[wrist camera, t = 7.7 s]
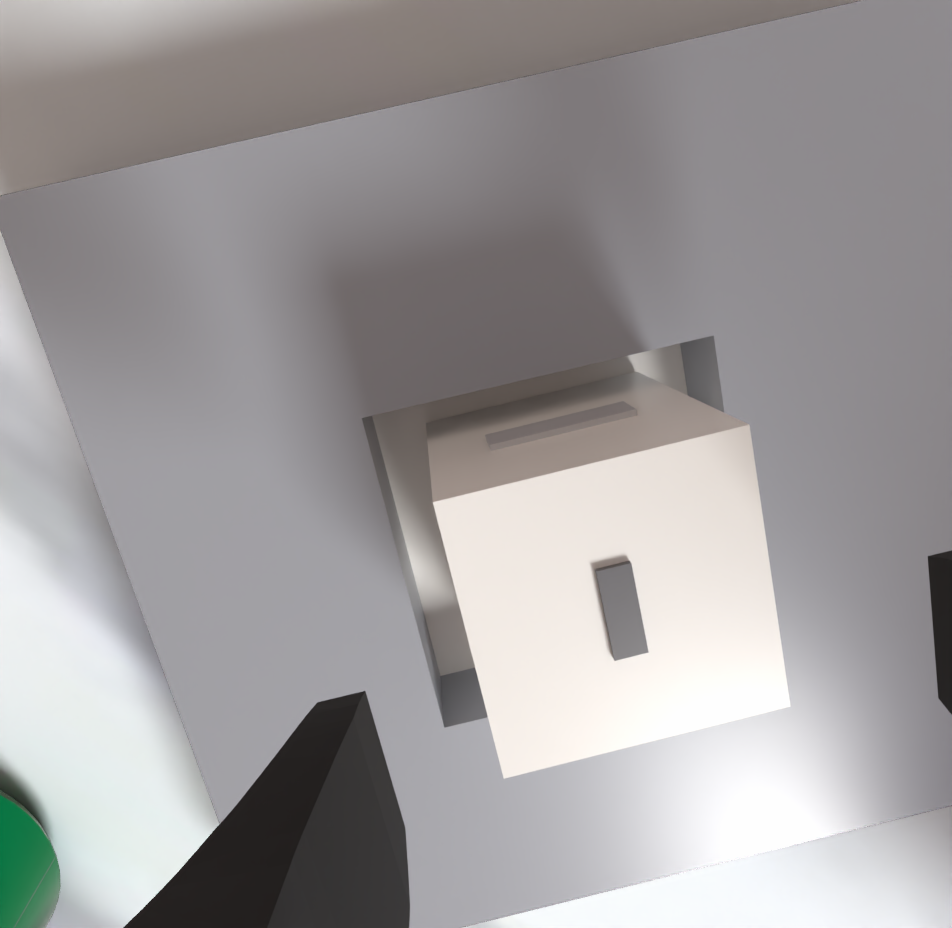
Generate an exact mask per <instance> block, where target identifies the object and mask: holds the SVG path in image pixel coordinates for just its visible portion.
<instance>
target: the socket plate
mask: <svg viewBox="0 0 952 928" xmlns="http://www.w3.org/2000/svg"><path fill="white" fill-rule="evenodd" d="M0 230H1V233H2V236H3V238H4V241H5V244H6V246H7V249H8V252H9V255H10V257H11V260H12V263H13V265H14V268H15V271H16V274H17V276H18V279H19V282H20V284H21V287H22V290H23V292H24V295H25V298H26V301H27V303H28V306H29V309H30V311H31V314H32V317H33V320H34V322H35V325H36V328H37V330H38V333H39V336H40V338H41V341H42V344H43V347H44V349H45V352H46V355H47V357H48V360H49V363H50V366H51V368H52V371H53V374H54V376H55V379H56V382H57V385H58V387H59V390H60V393H61V395H62V398H63V401H64V403H65V406H66V409H67V412H68V414H69V417H70V420H71V422H72V425H73V428H74V431H75V433H76V436H77V439H78V441H79V444H80V447H81V449H82V452H83V455H84V458H85V460H86V463H87V466H88V468H89V471H90V474H91V477H92V479H93V482H94V485H95V487H96V490H97V493H98V496H99V498H100V501H101V504H102V506H103V509H104V512H105V514H106V517H107V520H108V523H109V525H110V528H111V531H112V533H113V536H114V539H115V542H116V544H117V547H118V550H119V552H120V555H121V558H122V560H123V563H124V566H125V569H126V571H127V574H128V577H129V579H130V582H131V585H132V588H133V590H134V593H135V596H136V598H137V601H138V604H139V607H140V609H141V612H142V615H143V617H144V620H145V623H146V625H147V628H148V631H149V634H150V636H151V639H152V642H153V644H154V647H155V650H156V653H157V655H158V658H159V661H160V663H161V666H162V669H163V671H164V674H165V677H166V680H167V682H168V685H169V688H170V690H171V693H172V696H173V699H174V701H175V704H176V707H177V709H178V712H179V715H180V718H181V720H182V723H183V726H184V728H185V731H186V734H187V736H188V739H189V742H190V745H191V747H192V750H193V753H194V755H195V758H196V761H197V764H198V766H199V769H200V772H201V774H202V777H203V780H204V783H205V785H206V788H207V791H208V793H209V796H210V799H211V801H212V804H213V807H214V810H215V812H216V815H217V818H218V820H219V823H221V822H222V821H223V820H224V819H225V818H226V817H227V815H228V814H229V813H230V812H231V811H232V810H233V808H234V807H235V806H236V805H237V804H238V802H239V801H240V800H241V799H242V797H243V796H244V795H245V794H246V792H247V791H248V790H249V788H250V787H251V786H252V785H253V783H254V782H255V781H256V780H257V778H258V777H259V776H260V775H261V773H262V772H263V771H264V769H265V768H266V767H267V766H268V764H269V763H270V762H271V761H272V759H273V758H274V757H275V755H276V754H277V753H278V751H279V750H280V749H281V748H282V746H283V745H284V744H285V742H286V741H287V740H288V738H289V737H290V736H291V734H292V733H293V732H294V731H295V729H296V728H297V727H298V725H299V724H300V723H301V721H302V720H303V719H304V718H305V716H306V715H307V714H308V713H309V711H310V710H311V709H312V708H313V707H314V706H315V705H316V703H317V702H321V701H325V700H329V699H333V698H337V697H342V696H346V695H350V694H354V693H358V692H363V691H366V695H367V698H368V702H369V705H370V708H371V712H372V715H373V719H374V722H375V726H376V729H377V732H378V736H379V739H380V743H381V746H382V749H383V753H384V756H385V760H386V763H387V767H388V770H389V773H390V777H391V780H392V784H393V787H394V791H395V794H396V797H397V801H398V804H399V808H400V811H401V814H402V818H403V821H404V825H405V830H406V845H407V859H408V875H409V894H410V921H409V928H462V927H466V926H471V925H475V924H479V923H483V922H487V921H491V920H495V919H499V918H503V917H507V916H511V915H515V914H519V913H523V912H527V911H531V910H535V909H539V908H543V907H547V906H551V905H555V904H559V903H563V902H567V901H571V900H575V899H579V898H583V897H587V896H591V895H595V894H599V893H603V892H607V891H611V890H615V889H619V888H623V887H627V886H631V885H635V884H639V883H643V882H647V881H651V880H655V879H659V878H663V877H667V876H671V875H675V874H680V873H684V872H688V871H692V870H696V869H700V868H704V867H708V866H712V865H716V864H720V863H724V862H728V861H732V860H736V859H740V858H744V857H748V856H752V855H756V854H760V853H764V852H768V851H772V850H776V849H780V848H784V847H788V846H792V845H796V844H800V843H804V842H808V841H812V840H816V839H820V838H824V837H828V836H832V835H836V834H840V833H844V832H848V831H852V830H856V829H860V828H864V827H868V826H872V825H876V824H880V823H884V822H889V821H893V820H897V819H901V818H905V817H909V816H913V815H917V814H921V813H925V812H929V811H933V810H937V809H941V808H945V807H949V806H952V714H951V713H950V712H949V711H948V710H947V708H946V707H945V706H944V705H943V703H942V702H941V701H940V700H939V699H938V688H937V675H936V661H935V648H934V635H933V622H932V608H931V595H930V582H929V568H928V556H930V555H934V554H939V553H943V552H947V551H951V550H952V0H861V1H857V2H853V3H848V4H844V5H839V6H835V7H831V8H826V9H822V10H817V11H813V12H808V13H804V14H800V15H795V16H791V17H786V18H782V19H778V20H773V21H769V22H764V23H760V24H755V25H751V26H747V27H742V28H738V29H733V30H729V31H725V32H720V33H716V34H711V35H707V36H703V37H698V38H694V39H689V40H685V41H680V42H676V43H672V44H667V45H663V46H658V47H654V48H650V49H645V50H641V51H636V52H632V53H628V54H623V55H619V56H614V57H610V58H605V59H601V60H597V61H592V62H588V63H583V64H579V65H575V66H570V67H566V68H561V69H557V70H553V71H548V72H544V73H539V74H535V75H530V76H526V77H522V78H517V79H513V80H508V81H504V82H500V83H495V84H491V85H486V86H482V87H478V88H473V89H469V90H464V91H460V92H455V93H451V94H447V95H442V96H438V97H433V98H429V99H425V100H420V101H416V102H411V103H407V104H403V105H398V106H394V107H389V108H385V109H380V110H376V111H372V112H367V113H363V114H358V115H354V116H350V117H345V118H341V119H336V120H332V121H328V122H323V123H319V124H314V125H310V126H305V127H301V128H297V129H292V130H288V131H283V132H279V133H275V134H270V135H266V136H261V137H257V138H252V139H248V140H244V141H239V142H235V143H230V144H226V145H222V146H217V147H213V148H208V149H204V150H200V151H195V152H191V153H186V154H182V155H177V156H173V157H169V158H164V159H160V160H155V161H151V162H147V163H142V164H138V165H133V166H129V167H125V168H120V169H116V170H111V171H107V172H102V173H98V174H94V175H89V176H85V177H80V178H76V179H72V180H67V181H63V182H58V183H54V184H50V185H45V186H41V187H36V188H32V189H27V190H23V191H19V192H14V193H10V194H5V195H1V196H0ZM633 372H639V373H641V374H643V375H645V376H647V377H649V378H652V379H654V380H656V381H658V382H660V383H662V384H664V385H666V386H669V387H671V388H673V389H675V390H677V391H679V392H681V393H683V394H686V395H688V396H690V397H692V398H694V399H696V400H698V401H700V402H702V403H705V404H707V405H709V406H711V407H713V408H715V409H717V410H719V411H722V412H724V413H726V414H728V415H730V416H732V417H734V418H736V419H739V420H741V421H743V422H745V423H747V424H749V425H750V432H751V438H752V445H753V452H754V459H755V466H756V473H757V480H758V486H759V493H760V500H761V507H762V514H763V521H764V528H765V534H766V541H767V548H768V555H769V562H770V569H771V576H772V582H773V589H774V596H775V603H776V610H777V617H778V624H779V630H780V637H781V644H782V651H783V658H784V665H785V672H786V678H787V685H788V692H789V699H790V706H791V707H787V708H783V709H779V710H775V711H771V712H767V713H763V714H759V715H755V716H751V717H747V718H743V719H739V720H735V721H731V722H727V723H723V724H719V725H715V726H711V727H707V728H703V729H699V730H695V731H691V732H687V733H683V734H680V735H676V736H672V737H668V738H664V739H660V740H656V741H652V742H648V743H644V744H640V745H636V746H632V747H628V748H624V749H620V750H616V751H612V752H608V753H604V754H600V755H596V756H592V757H588V758H584V759H580V760H576V761H572V762H568V763H565V764H561V765H557V766H553V767H549V768H545V769H541V770H537V771H533V772H529V773H525V774H521V775H517V776H513V777H509V778H505V779H504V778H503V774H502V770H501V766H500V762H499V758H498V754H497V751H496V747H495V743H494V739H493V735H492V731H491V727H490V723H489V719H488V716H487V712H486V708H485V704H484V700H483V696H482V692H481V688H480V684H479V681H478V677H477V673H476V669H475V665H474V661H473V657H472V653H471V649H470V646H469V642H468V638H467V634H466V630H465V626H464V622H463V618H462V614H461V610H460V607H459V603H458V599H457V595H456V591H455V587H454V583H453V579H452V575H451V572H450V568H449V564H448V560H447V556H446V552H445V548H444V544H443V540H442V537H441V533H440V529H439V525H438V521H437V517H436V513H435V509H434V505H433V500H432V489H431V477H430V466H429V454H428V443H427V431H426V423H427V422H431V421H435V420H439V419H443V418H447V417H452V416H456V415H460V414H464V413H468V412H472V411H476V410H480V409H484V408H489V407H493V406H497V405H501V404H505V403H509V402H513V401H517V400H521V399H526V398H530V397H534V396H538V395H542V394H546V393H550V392H554V391H559V390H563V389H567V388H571V387H575V386H579V385H583V384H587V383H591V382H596V381H600V380H604V379H608V378H612V377H616V376H620V375H624V374H628V373H633Z"/></svg>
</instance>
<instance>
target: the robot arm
mask: <svg viewBox="0 0 952 928" xmlns="http://www.w3.org/2000/svg"><path fill="white" fill-rule="evenodd" d="M928 568H929V582H930V595H931V608H932V622H933V635H934V648H935V661H936V675H937V688H938V699H939V700H940V701H941V702H942V703H943V705H944V706H945V707H946V708H947V710H948V711H949V712H950V713H951V714H952V550H951V551H947V552H943V553H939V554H934V555H930V556H928ZM409 921H410V894H409V875H408V859H407V845H406V830H405V825H404V821H403V818H402V814H401V811H400V808H399V804H398V801H397V797H396V794H395V791H394V787H393V784H392V780H391V777H390V773H389V770H388V767H387V763H386V760H385V756H384V753H383V749H382V746H381V743H380V739H379V736H378V732H377V729H376V726H375V722H374V719H373V715H372V712H371V708H370V705H369V702H368V698H367V695H366V691H363V692H358V693H354V694H350V695H346V696H342V697H337V698H333V699H329V700H325V701H321V702H317V703H316V705H315V706H314V707H313V708H312V709H311V710H310V711H309V713H308V714H307V715H306V716H305V718H304V719H303V720H302V721H301V723H300V724H299V725H298V727H297V728H296V729H295V731H294V732H293V733H292V734H291V736H290V737H289V738H288V740H287V741H286V742H285V744H284V745H283V746H282V748H281V749H280V750H279V751H278V753H277V754H276V755H275V757H274V758H273V759H272V761H271V762H270V763H269V764H268V766H267V767H266V768H265V769H264V771H263V772H262V773H261V775H260V776H259V777H258V778H257V780H256V781H255V782H254V783H253V785H252V786H251V787H250V788H249V790H248V791H247V792H246V794H245V795H244V796H243V797H242V799H241V800H240V801H239V802H238V804H237V805H236V806H235V807H234V808H233V810H232V811H231V812H230V813H229V814H228V815H227V817H226V818H225V819H224V820H223V821H222V822H221V823H220V825H219V826H218V827H217V828H216V829H215V830H214V831H213V833H212V834H211V835H210V836H209V837H208V838H207V839H206V841H205V842H204V843H203V844H202V845H201V846H200V848H199V849H198V850H197V851H196V852H195V853H194V854H193V856H192V857H191V858H190V859H189V860H188V861H187V862H186V864H185V865H184V866H183V867H182V868H181V869H180V870H179V872H178V873H177V874H176V875H175V876H174V877H173V878H172V879H171V880H170V881H169V882H168V883H167V884H166V885H165V887H164V888H163V889H162V890H161V891H160V892H159V893H158V894H157V895H156V896H155V897H154V898H153V899H152V900H151V901H150V902H149V903H148V904H147V905H146V906H145V907H144V908H143V909H142V910H141V911H140V912H139V913H138V914H137V915H136V916H135V917H134V918H133V919H132V920H131V921H130V922H129V923H128V924H127V925H126V926H125V927H124V928H409Z"/></svg>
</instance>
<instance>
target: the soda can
mask: <svg viewBox="0 0 952 928" xmlns="http://www.w3.org/2000/svg"><path fill="white" fill-rule="evenodd" d="M59 891H60V869H59V865H58V861H57V857H56V854H55V851H54V849H53V847H52V845H51V842H50V840H49V838H48V836H47V834H46V833H45V831H44V830H43V828H42V827H41V825H40V824H39V822H38V821H37V820H36V818H35V817H34V816H33V815H32V814H31V813H30V812H29V811H28V810H27V809H26V808H25V807H24V806H23V805H21V804H20V803H19V802H18V801H16V800H15V799H14V798H12V797H10V796H9V795H7V794H5V793H4V792H2V791H0V928H46V926H47V924H48V922H49V920H50V919H51V917H52V915H53V913H54V910H55V907H56V904H57V902H58V898H59Z"/></svg>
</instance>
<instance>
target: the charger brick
mask: <svg viewBox="0 0 952 928" xmlns="http://www.w3.org/2000/svg"><path fill="white" fill-rule="evenodd" d="M426 431H427V443H428V454H429V466H430V477H431V489H432V500H433V505H434V509H435V513H436V517H437V521H438V525H439V529H440V533H441V537H442V540H443V544H444V548H445V552H446V556H447V560H448V564H449V568H450V572H451V575H452V579H453V583H454V587H455V591H456V595H457V599H458V603H459V607H460V610H461V614H462V618H463V622H464V626H465V630H466V634H467V638H468V642H469V646H470V649H471V653H472V657H473V661H474V665H475V669H476V673H477V677H478V681H479V684H480V688H481V692H482V696H483V700H484V704H485V708H486V712H487V716H488V719H489V723H490V727H491V731H492V735H493V739H494V743H495V747H496V751H497V754H498V758H499V762H500V766H501V770H502V774H503V778H504V779H505V778H509V777H513V776H517V775H521V774H525V773H529V772H533V771H537V770H541V769H545V768H549V767H553V766H557V765H561V764H565V763H568V762H572V761H576V760H580V759H584V758H588V757H592V756H596V755H600V754H604V753H608V752H612V751H616V750H620V749H624V748H628V747H632V746H636V745H640V744H644V743H648V742H652V741H656V740H660V739H664V738H668V737H672V736H676V735H680V734H683V733H687V732H691V731H695V730H699V729H703V728H707V727H711V726H715V725H719V724H723V723H727V722H731V721H735V720H739V719H743V718H747V717H751V716H755V715H759V714H763V713H767V712H771V711H775V710H779V709H783V708H787V707H791V706H790V699H789V692H788V685H787V678H786V672H785V665H784V658H783V651H782V644H781V637H780V630H779V624H778V617H777V610H776V603H775V596H774V589H773V582H772V576H771V569H770V562H769V555H768V548H767V541H766V534H765V528H764V521H763V514H762V507H761V500H760V493H759V486H758V480H757V473H756V466H755V459H754V452H753V445H752V438H751V432H750V425H749V424H747V423H745V422H743V421H741V420H739V419H736V418H734V417H732V416H730V415H728V414H726V413H724V412H722V411H719V410H717V409H715V408H713V407H711V406H709V405H707V404H705V403H702V402H700V401H698V400H696V399H694V398H692V397H690V396H688V395H686V394H683V393H681V392H679V391H677V390H675V389H673V388H671V387H669V386H666V385H664V384H662V383H660V382H658V381H656V380H654V379H652V378H649V377H647V376H645V375H643V374H641V373H639V372H633V373H628V374H624V375H620V376H616V377H612V378H608V379H604V380H600V381H596V382H591V383H587V384H583V385H579V386H575V387H571V388H567V389H563V390H559V391H554V392H550V393H546V394H542V395H538V396H534V397H530V398H526V399H521V400H517V401H513V402H509V403H505V404H501V405H497V406H493V407H489V408H484V409H480V410H476V411H472V412H468V413H464V414H460V415H456V416H452V417H447V418H443V419H439V420H435V421H431V422H427V423H426Z"/></svg>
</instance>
